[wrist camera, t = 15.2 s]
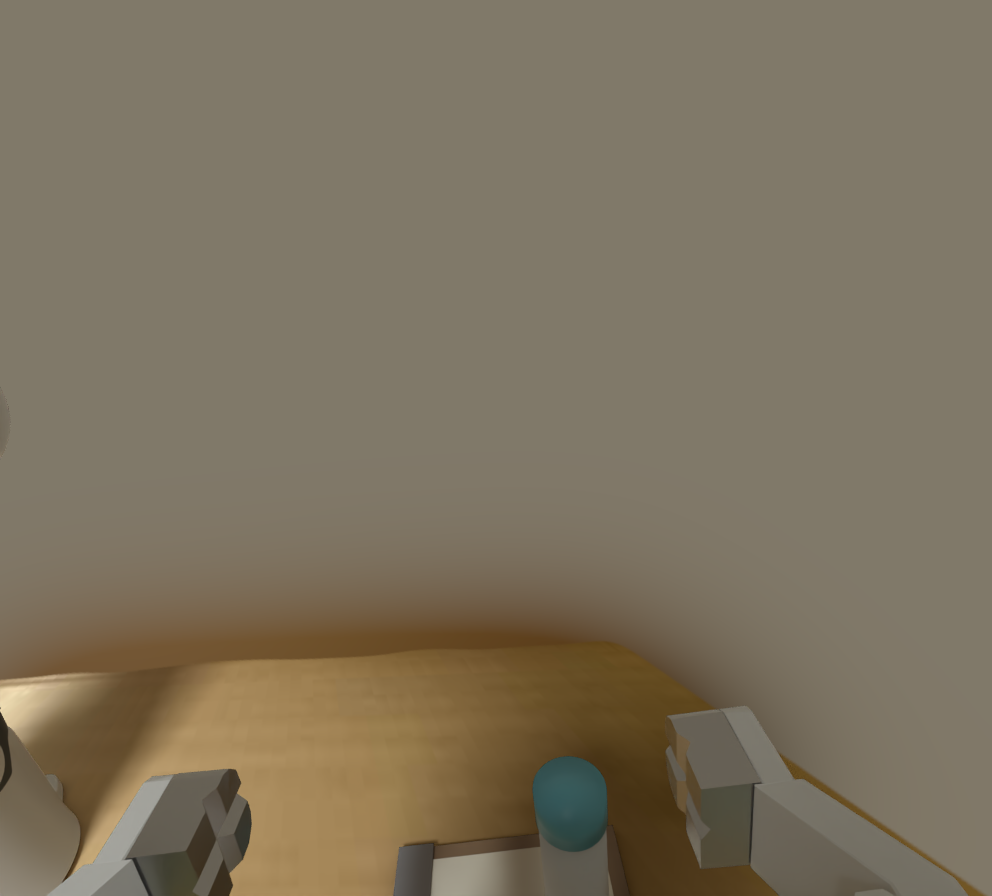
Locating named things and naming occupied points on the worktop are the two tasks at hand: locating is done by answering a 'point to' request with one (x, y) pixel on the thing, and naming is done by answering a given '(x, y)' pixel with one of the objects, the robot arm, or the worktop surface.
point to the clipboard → (487, 868)
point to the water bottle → (572, 827)
